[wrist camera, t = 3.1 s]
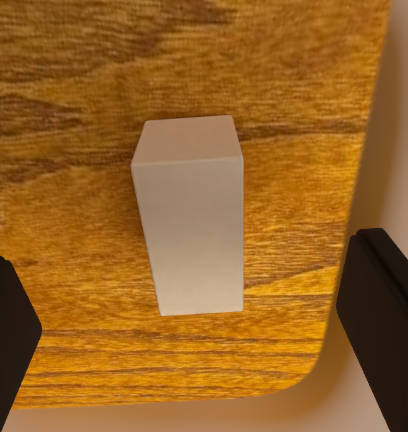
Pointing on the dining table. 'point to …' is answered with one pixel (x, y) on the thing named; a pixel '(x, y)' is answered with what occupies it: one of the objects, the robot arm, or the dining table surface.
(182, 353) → the dining table surface
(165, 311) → the eraser
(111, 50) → the dining table surface
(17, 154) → the dining table surface
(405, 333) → the robot arm
